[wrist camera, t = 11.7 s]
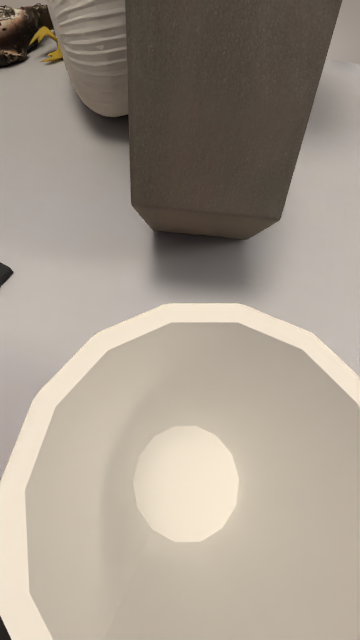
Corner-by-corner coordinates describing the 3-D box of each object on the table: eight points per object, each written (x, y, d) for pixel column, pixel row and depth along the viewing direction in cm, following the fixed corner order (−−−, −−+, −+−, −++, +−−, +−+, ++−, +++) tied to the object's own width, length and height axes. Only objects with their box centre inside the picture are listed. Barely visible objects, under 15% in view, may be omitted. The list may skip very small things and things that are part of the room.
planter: (175, 44, 30) (144, -470, 9) (261, 52, 29) (425, -451, 9) (158, 237, 32) (102, 173, 11) (237, 245, 32) (324, 195, 11)
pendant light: (9, -123, 18) (472, -183, 22) (22, -78, 28) (343, -125, 31) (88, 141, 28) (400, 70, 31) (77, 107, 37) (318, 56, 41)
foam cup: (287, 439, 20) (451, 389, 8) (234, 617, 17) (394, 962, 5) (148, 375, 22) (125, 256, 10) (71, 525, 18) (-111, 618, 6)
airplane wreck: (122, 27, 40) (117, -36, 35) (-25, 81, 35) (-57, 16, 29) (96, 4, 41) (87, -59, 36) (-49, 52, 36) (-83, -15, 31)
